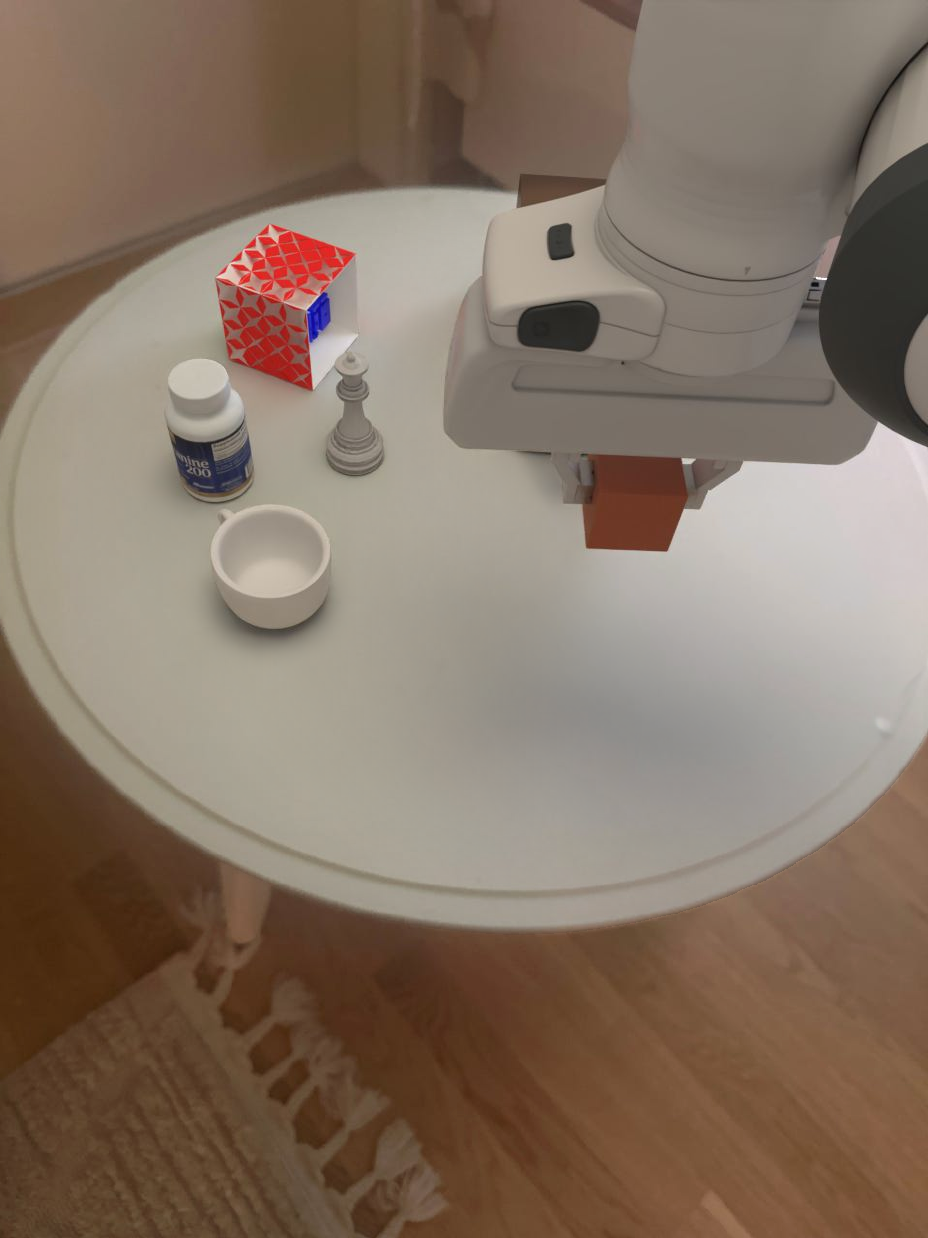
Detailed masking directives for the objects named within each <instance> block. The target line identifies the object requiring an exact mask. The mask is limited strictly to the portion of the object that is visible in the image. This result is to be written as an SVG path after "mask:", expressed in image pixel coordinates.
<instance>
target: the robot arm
mask: <svg viewBox="0 0 928 1238" xmlns="http://www.w3.org/2000/svg"><path fill="white" fill-rule="evenodd" d="M635 29H636V30H635V34H634V39H633V43H632V48H631V53H630V58H629V63H628V68H627V75H626V89H625V90H626V102H627V103H626V104H627V114H628V115H627V129H626V133H625V139H624V141H623V143H622V146H621V148H620V149H619V152H618V154H617V155H616V158H615V159H614V161H613V162H612V165H611V167H610V169H609V172H608V174H607V178H606V179H607V181H606V185H603V186H600V187H597V188H594V189H591V190H588V191H585V192H581V193H578V194H574V195H571V196H567V197H563V198H559V199H555V200H551V201H547V202H543V203H539V204H534V205H530V206H525V207H521V208H516V207H515V208H513V209H508V210H505V211H502V212H500V213H498V214H496V215H495V216H493V217H492V218H491V220H489V221H490V222H489V224H488V227H487V230H486V231H487V232H486V236H485V241H484V247H483V255H482V268H481V269H482V272H481V273H482V274H481V275H480V276H479V277H478V278H477V279H476V280H474V281H473V282H472V284H471V285H470V286H469V288H468V289H467V291H466V292H465V294H464V296H463V298H462V300H461V303H460V306H459V308H458V312H457V315H456V320H455V323H454V327H453V331H452V335H451V338H450V339H451V340H450V344H449V348H448V354H447V361H446V366H445V367H446V368H445V375H444V388H443V405H442V412H443V413H442V420H443V423H442V424H443V425H442V426H443V432H444V433H445V435H446V436H447V437H448V438H449V439H450V440H451V441H452V442H453V443H454V444H455V445H456V446H457V447H459V448H461V449H465V450H466V449H467V450H490V451H511V452H512V451H513V452H535V453H550V459H551V463H552V465H553V467H554V468H555V470H556V471H557V473H558V474H559V476H560V478H561V496H562V504H563V505H582V504H589V505H590V504H591V501H592V495H593V493H594V489H595V476H594V474H593V472H594V467H593V460H587V459H584V458H583V459H581V458H582V455H588V454H599V455H622V456H644V457H666V458H682V459H691V460H693V461H692V462H691V463H683V469H684V475H685V481H686V487H687V493H688V499H687V502H686V505H685V507H684V510H701V509H702V507H703V503H704V501H705V499H706V496H707V494H708V492H709V491H712V490H713V489H715V488H717V487H718V486H719V485H720V484H722V483H723V482H725V481H726V480H728V479H729V478H731V477H732V476H734V475H735V474H737V473H738V472H740V470H741V468H742V466H743V463H744V462H757V463H780V464H781V463H782V464H799V465H801V464H804V465H820V466H821V465H824V466H839V465H842V464H844V463H846V462H848V461H850V460H851V459H853V458H855V457H857V456H858V455H859V454H861V453H863V452H864V451H865V450H866V448H867V446H868V444H869V443H870V441H871V438H872V436H873V434H874V433H875V430H876V428H877V426H878V423H879V424H881V425H882V426H884V427H886V428H887V429H889V430H890V431H892V432H894V433H896V434H898V435H900V436H901V437H904V438H905V439H907V440H909V441H911V442H913V443H916V444H919V445H920V446H923V447H925V448H928V0H642V2H641V7H640V12H639V16H638V22H637V25H636V28H635ZM836 237H840V238H839V241H838V243H837V247H836V250H835V252H834V254H833V258H832V261H831V264H830V267H829V270H828V273H827V276H826V277H825V278H824V277H822V278H821V277H815V276H816V273H817V271H818V269H819V266H820V264H821V262H822V259H823V256H824V254H825V251H826V249H827V246H828V244H829V241H831V240H832V239H834V238H836Z"/></svg>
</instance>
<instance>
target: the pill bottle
mask: <svg viewBox="0 0 928 1238" xmlns="http://www.w3.org/2000/svg"><path fill="white" fill-rule="evenodd" d="M167 387H168V388H167V389H168V392H169V397H168V398H167V400H166V403H165V405H164V419H165V424H166V428H167V431H168V436H169V438H170V442H171V446H172V451H173V455H174V458H175V461H176V465H177V469H178V473H179V477H180V480H181V482H182V486H183V487H184V489H185V490H186V491H187V492H188V493H189V494H190V495H191V496H193V497H194V498H197V499H199V500H201V501H203V502H211V503H221V502H227V501H230V500H233V499H236V498H238V497H239V496H241V495H242V494H244V492H246V491H247V490H248V489H249V487H250V486H251V484H252V483H253V480H254V476H255V470H254V469H255V467H254V461H253V455H252V448H251V447H252V446H251V441H250V434H249V430H248V422H247V417H246V416H247V415H246V411H245V405H244V403H243V400H242V398H241V396H240V395H239V393H238V392H237V390H235V389H234V388H232V385H231V382H230V377H229V374H228V372H227V370H226V368H225V367H224V366H223V365H222V364H221V363H220V362H217V361H215V360H212V359H208V358H192V359H188V360H184V361H183V362H180V363H178V364H177V365H175V366H174V367H173V368H172V369H171V371H170V372H169V374H168V376H167Z"/></svg>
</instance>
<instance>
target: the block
mask: <svg viewBox="0 0 928 1238" xmlns="http://www.w3.org/2000/svg"><path fill="white" fill-rule="evenodd" d="M586 460H593V467H594V472H593V474H594V476H595V489H594V493H593V495H592V501H591V504H590V505H589V504H581V506H582V509H581V510H582V518H583V530H584V540H585V548H586V549H588V550H589V549H590V550H612V551H613V550H614V551H635V552H636V551H638V552H639V551H640V552H662V553H664V552H665V553H667V552H668V551H669V550H670V546H671V544H672V541H673V538H674V536H675V533H676V530H677V528H678V526H679V522H680V521H681V518H682V515H683V512H684V510H685V509H684V507H685V505H686V502H687V499H688V493H687V487H686V481H685V475H684V469H683V464H684V463H683V458H666V457H644V456H622V455H599V454H587V458H586Z"/></svg>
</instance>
